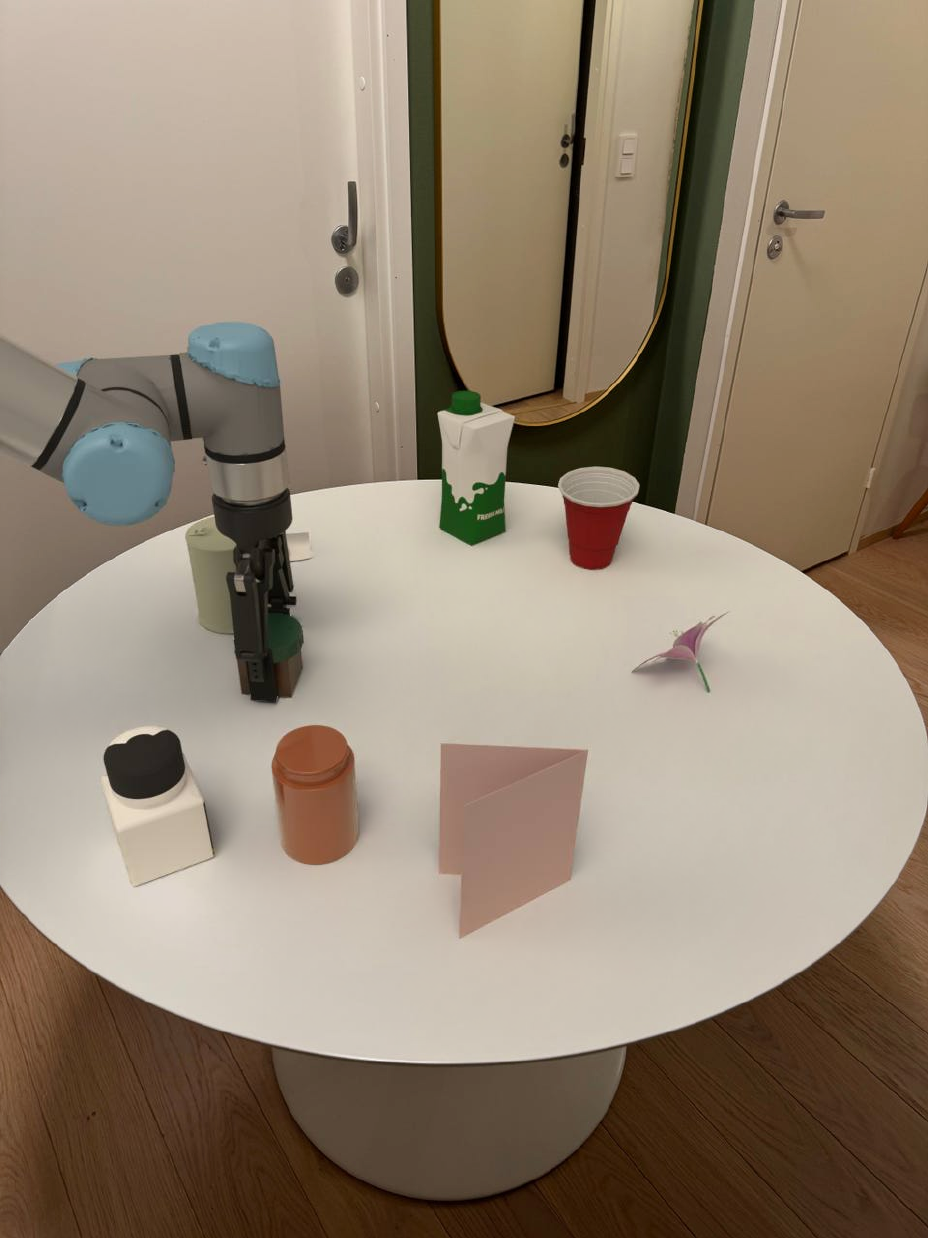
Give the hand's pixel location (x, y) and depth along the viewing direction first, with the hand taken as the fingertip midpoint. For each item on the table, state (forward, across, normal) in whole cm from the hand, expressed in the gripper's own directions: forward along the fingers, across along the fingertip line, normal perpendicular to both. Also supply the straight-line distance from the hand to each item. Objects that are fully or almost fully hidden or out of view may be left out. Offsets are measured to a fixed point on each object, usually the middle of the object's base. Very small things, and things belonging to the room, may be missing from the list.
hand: (273, 676), depth 98 cm
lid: (-6, 0, 0) cm, 6 cm away
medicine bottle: (+1, +25, -4) cm, 25 cm away
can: (+1, -13, -8) cm, 15 cm away
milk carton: (+1, -39, +20) cm, 44 cm away
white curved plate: (+1, -28, -6) cm, 29 cm away
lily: (+1, -6, +46) cm, 46 cm away
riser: (+1, 0, 0) cm, 1 cm away
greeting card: (+1, +28, +27) cm, 39 cm away
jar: (+1, +22, +10) cm, 24 cm away
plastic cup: (+1, -32, +37) cm, 49 cm away
